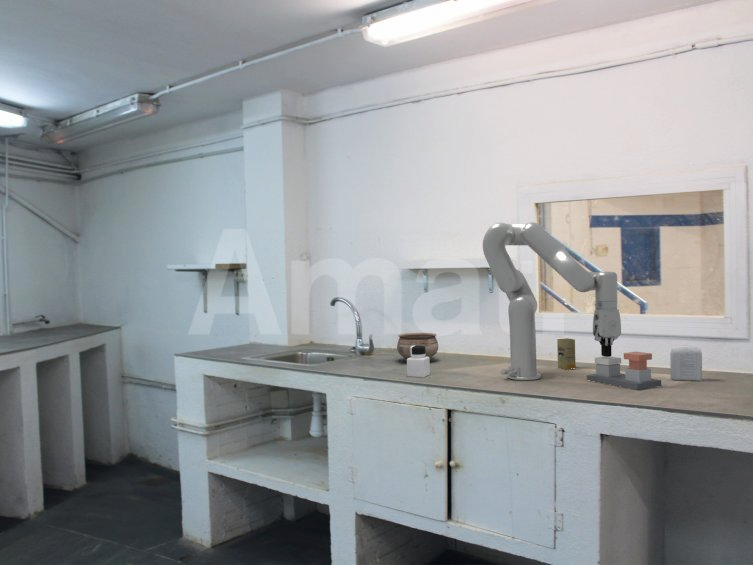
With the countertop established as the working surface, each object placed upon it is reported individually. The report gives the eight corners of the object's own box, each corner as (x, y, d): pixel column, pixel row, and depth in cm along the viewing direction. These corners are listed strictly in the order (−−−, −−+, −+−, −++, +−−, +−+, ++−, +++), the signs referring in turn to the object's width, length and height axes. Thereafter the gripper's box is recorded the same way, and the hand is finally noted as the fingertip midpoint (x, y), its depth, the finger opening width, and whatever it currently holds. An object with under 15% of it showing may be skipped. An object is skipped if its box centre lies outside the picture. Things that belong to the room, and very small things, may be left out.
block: (637, 390, 208) (636, 372, 208) (586, 380, 228) (586, 364, 228) (661, 385, 214) (661, 368, 214) (610, 376, 234) (609, 360, 233)
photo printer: (701, 379, 224) (700, 344, 224) (703, 381, 220) (702, 346, 219) (669, 378, 227) (669, 344, 227) (671, 380, 223) (670, 346, 223)
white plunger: (608, 376, 222) (608, 359, 222) (595, 374, 228) (594, 357, 228) (621, 374, 225) (621, 358, 225) (607, 372, 231) (607, 356, 231)
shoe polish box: (568, 367, 257) (567, 338, 257) (575, 369, 253) (574, 339, 252) (557, 368, 256) (557, 339, 256) (565, 370, 251) (564, 340, 251)
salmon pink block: (639, 372, 211) (639, 355, 211) (623, 370, 216) (623, 353, 216) (652, 370, 214) (651, 353, 214) (636, 368, 219) (636, 351, 219)
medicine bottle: (430, 374, 251) (429, 344, 251) (423, 377, 245) (422, 347, 244) (413, 373, 254) (412, 344, 254) (406, 376, 248) (406, 346, 247)
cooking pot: (418, 356, 301) (417, 331, 301) (450, 359, 289) (450, 333, 288) (384, 363, 282) (383, 336, 282) (417, 367, 270) (417, 338, 270)
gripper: (599, 307, 219) (599, 359, 220) (629, 305, 226) (629, 355, 227) (583, 306, 226) (583, 356, 227) (612, 304, 233) (612, 353, 234)
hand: (606, 356), depth 227 cm, fingers closed
